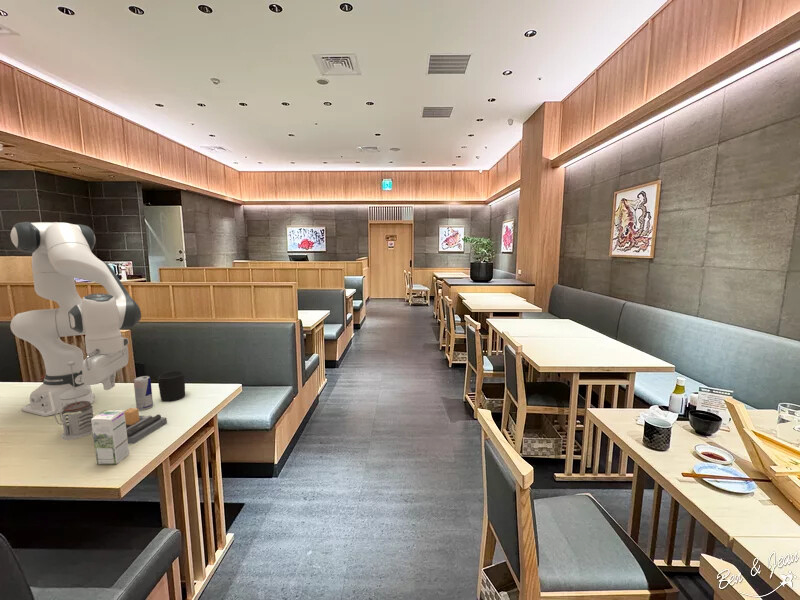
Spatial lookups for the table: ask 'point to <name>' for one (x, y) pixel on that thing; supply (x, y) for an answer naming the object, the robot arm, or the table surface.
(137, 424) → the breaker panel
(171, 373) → the pen holder
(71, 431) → the french press
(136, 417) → the lever
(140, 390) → the energy drink
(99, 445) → the syrup box
